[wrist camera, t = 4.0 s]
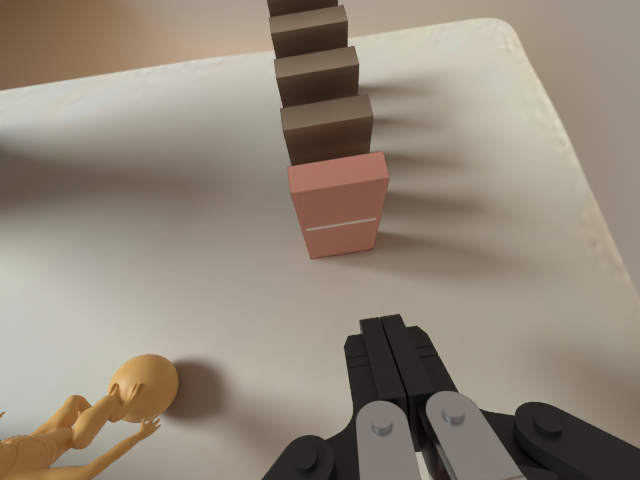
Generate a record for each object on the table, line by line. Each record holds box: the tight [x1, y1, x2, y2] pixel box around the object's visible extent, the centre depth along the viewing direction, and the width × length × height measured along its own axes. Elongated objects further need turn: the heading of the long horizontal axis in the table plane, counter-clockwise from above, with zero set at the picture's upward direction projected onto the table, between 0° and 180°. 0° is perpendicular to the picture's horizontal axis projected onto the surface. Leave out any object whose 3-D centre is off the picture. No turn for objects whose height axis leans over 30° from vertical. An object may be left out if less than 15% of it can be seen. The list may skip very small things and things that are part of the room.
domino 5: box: [287, 151, 390, 259], centre depth 21 cm, size 2×5×10 cm, turn 98°
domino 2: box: [269, 5, 348, 59], centre depth 26 cm, size 2×5×10 cm, turn 98°
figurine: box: [0, 354, 179, 480], centre depth 17 cm, size 8×6×12 cm
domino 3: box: [274, 46, 359, 108], centre depth 24 cm, size 2×5×10 cm, turn 98°
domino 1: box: [267, 0, 338, 17], centre depth 27 cm, size 2×5×10 cm, turn 99°
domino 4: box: [280, 94, 373, 166], centre depth 22 cm, size 2×5×10 cm, turn 99°
